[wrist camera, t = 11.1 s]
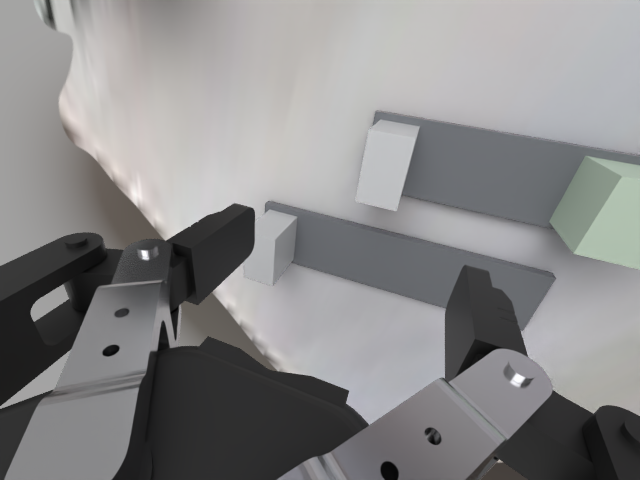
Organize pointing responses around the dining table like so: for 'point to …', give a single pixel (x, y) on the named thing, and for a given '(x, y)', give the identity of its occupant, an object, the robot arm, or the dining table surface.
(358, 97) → the dining table surface
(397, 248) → the strip
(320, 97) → the dining table surface
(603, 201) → the block
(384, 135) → the strip
